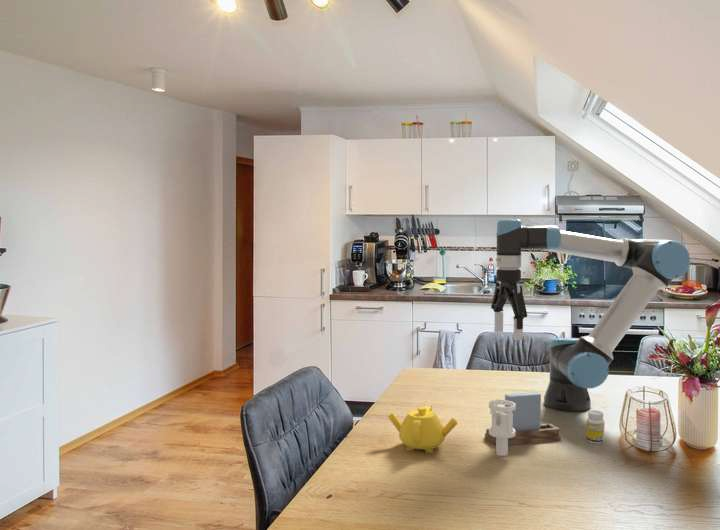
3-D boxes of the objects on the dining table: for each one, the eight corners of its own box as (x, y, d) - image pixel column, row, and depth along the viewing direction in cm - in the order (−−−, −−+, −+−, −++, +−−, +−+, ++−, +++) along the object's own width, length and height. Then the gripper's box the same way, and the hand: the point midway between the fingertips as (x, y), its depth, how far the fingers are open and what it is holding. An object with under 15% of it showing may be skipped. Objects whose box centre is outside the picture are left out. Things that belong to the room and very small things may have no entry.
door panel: (535, 431, 182) (535, 391, 181) (540, 434, 179) (540, 394, 178) (503, 434, 180) (504, 393, 179) (508, 437, 177) (508, 396, 176)
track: (546, 430, 185) (547, 421, 185) (561, 440, 177) (561, 429, 177) (484, 436, 181) (484, 426, 181) (496, 446, 173) (496, 435, 173)
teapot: (463, 440, 178) (463, 402, 178) (451, 463, 162) (451, 421, 161) (396, 432, 185) (396, 396, 184) (378, 454, 168) (378, 414, 167)
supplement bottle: (591, 437, 180) (591, 408, 179) (607, 441, 176) (607, 412, 176) (583, 441, 176) (584, 412, 176) (599, 445, 173) (600, 416, 172)
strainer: (483, 451, 169) (483, 397, 168) (504, 447, 172) (505, 394, 171) (498, 460, 163) (499, 404, 162) (520, 456, 166) (521, 401, 165)
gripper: (481, 266, 205) (480, 329, 207) (516, 272, 181) (515, 343, 183) (502, 265, 207) (501, 328, 209) (539, 271, 183) (538, 342, 184)
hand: (508, 335), depth 196 cm, fingers open, 13 cm apart
